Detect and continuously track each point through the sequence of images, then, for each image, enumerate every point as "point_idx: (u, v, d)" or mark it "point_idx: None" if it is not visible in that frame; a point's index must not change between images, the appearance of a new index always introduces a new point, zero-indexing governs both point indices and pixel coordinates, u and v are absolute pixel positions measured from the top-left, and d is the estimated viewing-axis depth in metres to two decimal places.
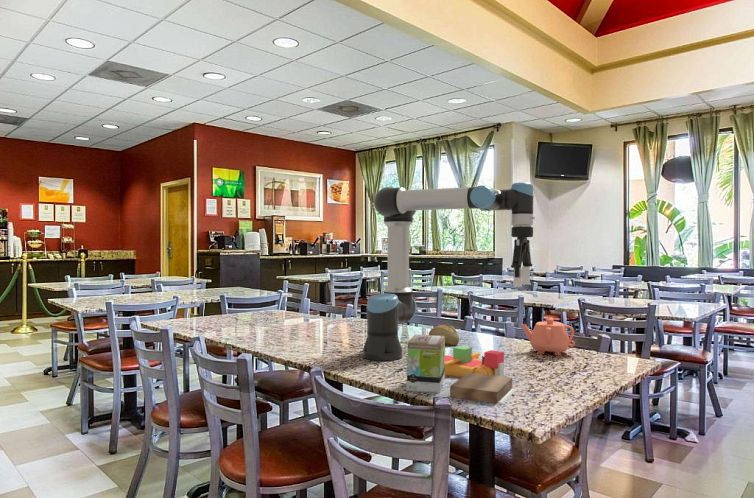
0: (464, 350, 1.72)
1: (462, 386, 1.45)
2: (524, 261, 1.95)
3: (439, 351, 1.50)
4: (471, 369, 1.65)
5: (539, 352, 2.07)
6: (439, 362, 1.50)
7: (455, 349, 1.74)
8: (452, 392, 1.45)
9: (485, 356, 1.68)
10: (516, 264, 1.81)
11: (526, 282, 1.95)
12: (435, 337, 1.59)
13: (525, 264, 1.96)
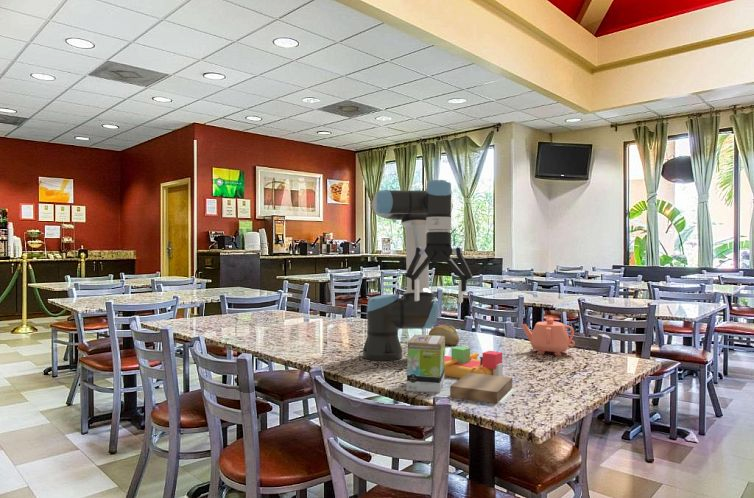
0: (462, 350, 1.71)
1: (462, 386, 1.45)
2: None
3: (439, 351, 1.50)
4: (469, 370, 1.64)
5: (539, 352, 2.07)
6: (439, 362, 1.50)
7: (453, 349, 1.73)
8: (452, 392, 1.45)
9: (483, 357, 1.67)
10: None
11: (459, 300, 1.58)
12: (435, 337, 1.59)
13: None
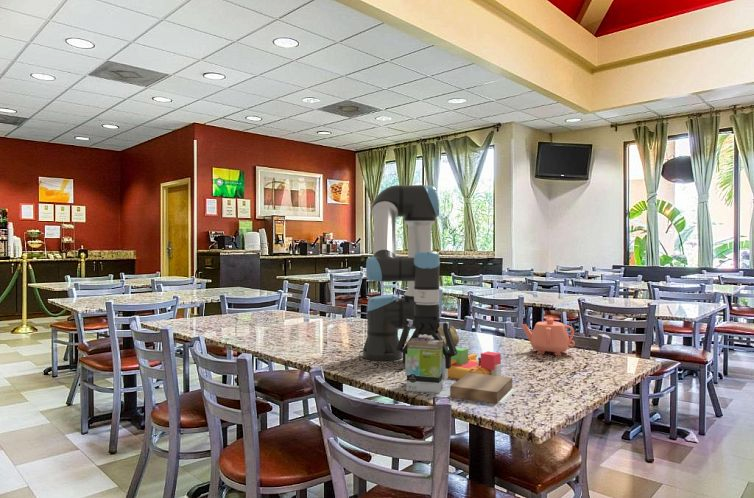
0: (460, 351, 1.70)
1: (462, 386, 1.45)
2: None
3: (439, 351, 1.49)
4: (467, 370, 1.63)
5: (539, 352, 2.07)
6: (439, 362, 1.49)
7: None
8: (452, 392, 1.45)
9: (481, 357, 1.66)
10: None
11: None
12: None
13: None
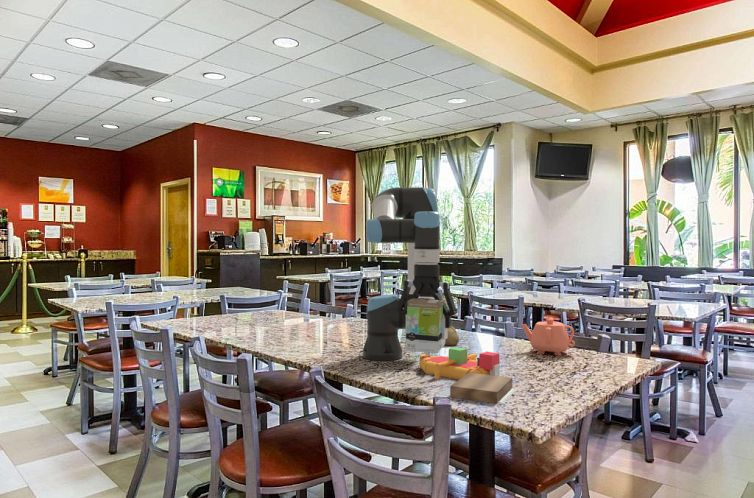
0: (459, 351, 1.70)
1: (462, 386, 1.45)
2: None
3: (438, 310, 1.50)
4: (465, 370, 1.63)
5: (539, 352, 2.07)
6: (438, 321, 1.50)
7: (450, 350, 1.72)
8: (452, 392, 1.45)
9: (480, 357, 1.66)
10: None
11: None
12: None
13: None
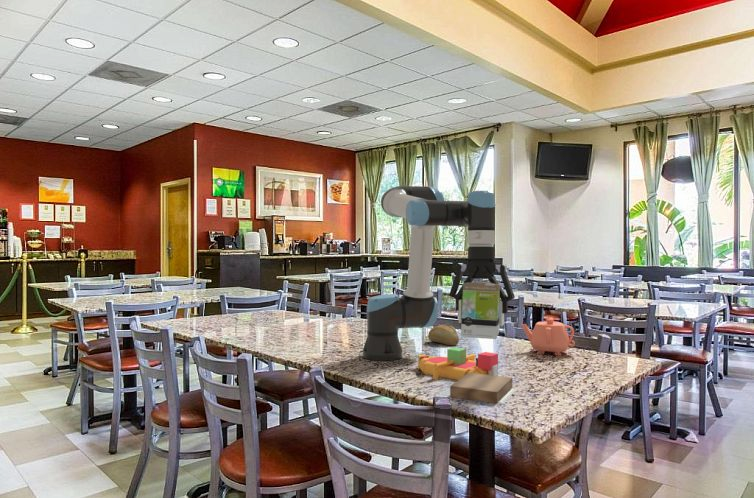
0: (458, 351, 1.69)
1: (462, 386, 1.45)
2: None
3: (497, 293, 1.41)
4: (464, 371, 1.62)
5: (539, 352, 2.07)
6: (496, 304, 1.41)
7: (449, 350, 1.72)
8: (452, 392, 1.45)
9: (479, 358, 1.65)
10: None
11: None
12: None
13: None
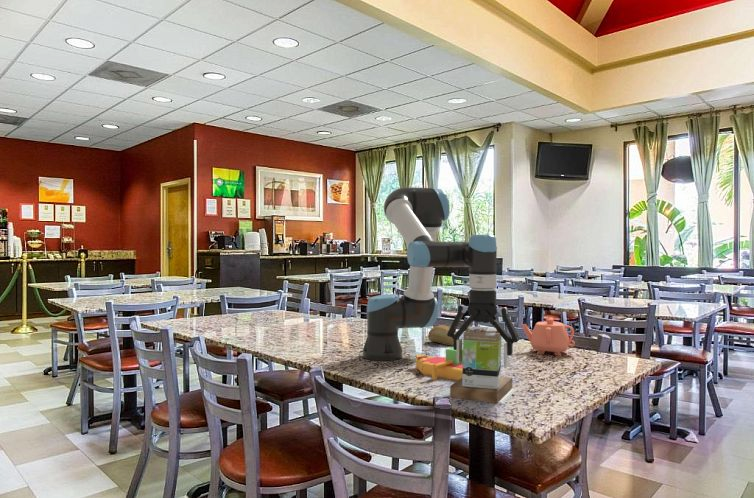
0: (456, 352, 1.69)
1: (462, 386, 1.45)
2: None
3: (497, 343, 1.41)
4: None
5: (539, 352, 2.07)
6: (497, 355, 1.41)
7: (447, 351, 1.71)
8: (452, 392, 1.45)
9: None
10: None
11: None
12: (491, 329, 1.51)
13: None
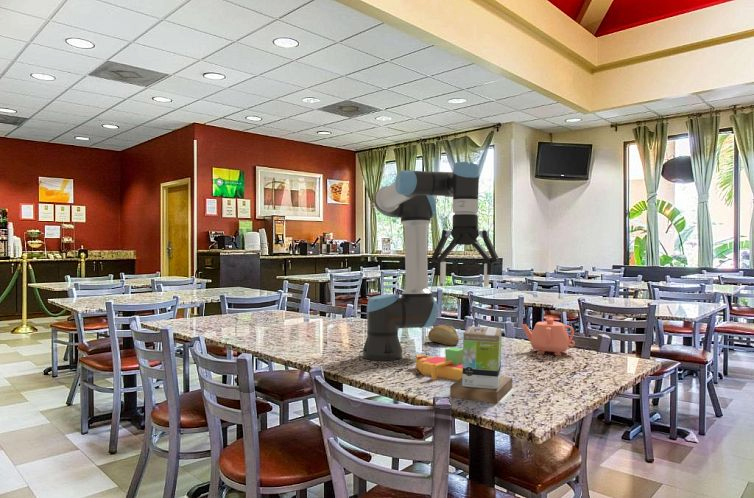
0: (456, 352, 1.69)
1: (462, 386, 1.45)
2: None
3: (497, 343, 1.41)
4: (462, 371, 1.62)
5: (539, 352, 2.07)
6: (497, 355, 1.41)
7: (447, 351, 1.71)
8: (452, 392, 1.45)
9: None
10: None
11: None
12: (491, 329, 1.51)
13: None
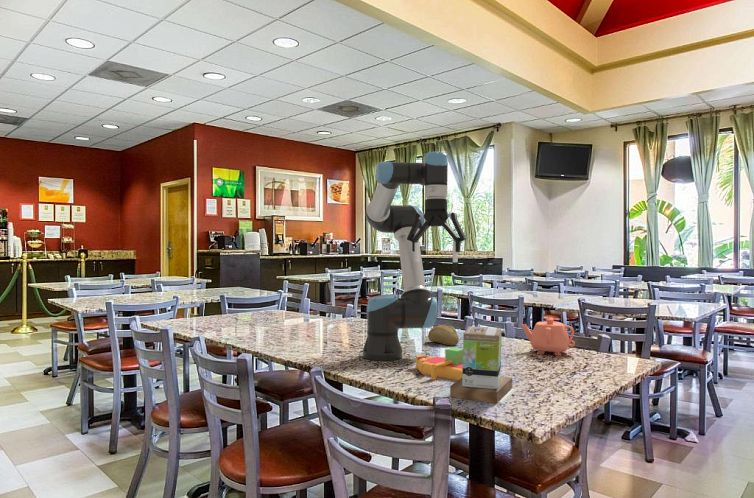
0: (456, 352, 1.69)
1: (462, 386, 1.45)
2: None
3: (497, 343, 1.41)
4: (462, 371, 1.62)
5: (539, 352, 2.07)
6: (497, 355, 1.41)
7: (447, 351, 1.71)
8: (452, 392, 1.45)
9: None
10: None
11: None
12: (491, 329, 1.51)
13: None
